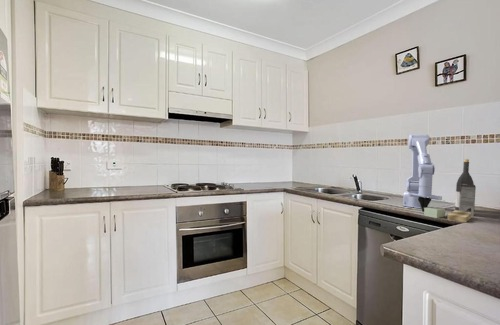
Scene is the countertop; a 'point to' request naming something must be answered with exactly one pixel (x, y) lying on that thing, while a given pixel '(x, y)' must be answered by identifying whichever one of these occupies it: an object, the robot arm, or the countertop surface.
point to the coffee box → (467, 198)
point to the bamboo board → (459, 216)
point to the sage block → (434, 212)
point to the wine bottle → (463, 181)
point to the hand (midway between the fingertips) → (424, 211)
